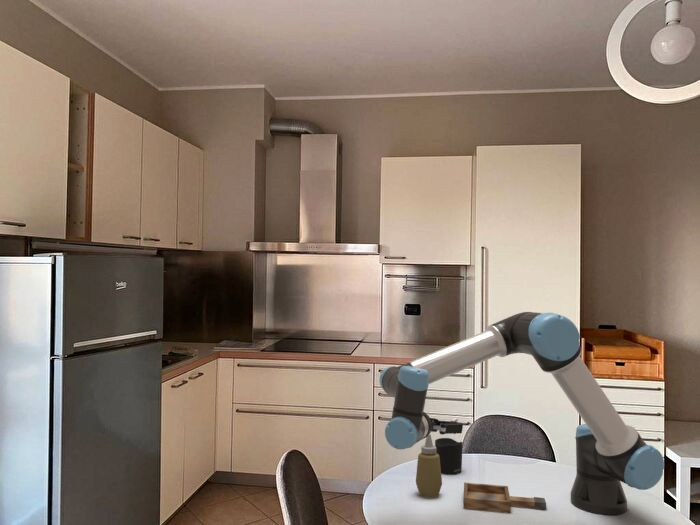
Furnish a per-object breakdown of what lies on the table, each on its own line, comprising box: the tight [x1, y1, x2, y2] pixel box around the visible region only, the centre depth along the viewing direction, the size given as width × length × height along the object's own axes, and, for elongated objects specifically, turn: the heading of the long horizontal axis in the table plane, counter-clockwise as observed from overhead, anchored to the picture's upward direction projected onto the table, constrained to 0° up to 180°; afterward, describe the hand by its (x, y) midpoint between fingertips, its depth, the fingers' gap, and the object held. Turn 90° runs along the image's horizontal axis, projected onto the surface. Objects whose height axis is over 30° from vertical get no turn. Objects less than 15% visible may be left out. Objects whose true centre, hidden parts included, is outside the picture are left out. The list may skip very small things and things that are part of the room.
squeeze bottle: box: [415, 433, 443, 498], centre depth 165 cm, size 8×8×18 cm
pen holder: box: [434, 437, 463, 475], centre depth 187 cm, size 9×9×10 cm
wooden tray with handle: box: [463, 481, 547, 514], centre depth 158 cm, size 23×13×3 cm, turn 77°
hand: (433, 417), depth 162 cm, fingers open, 13 cm apart
